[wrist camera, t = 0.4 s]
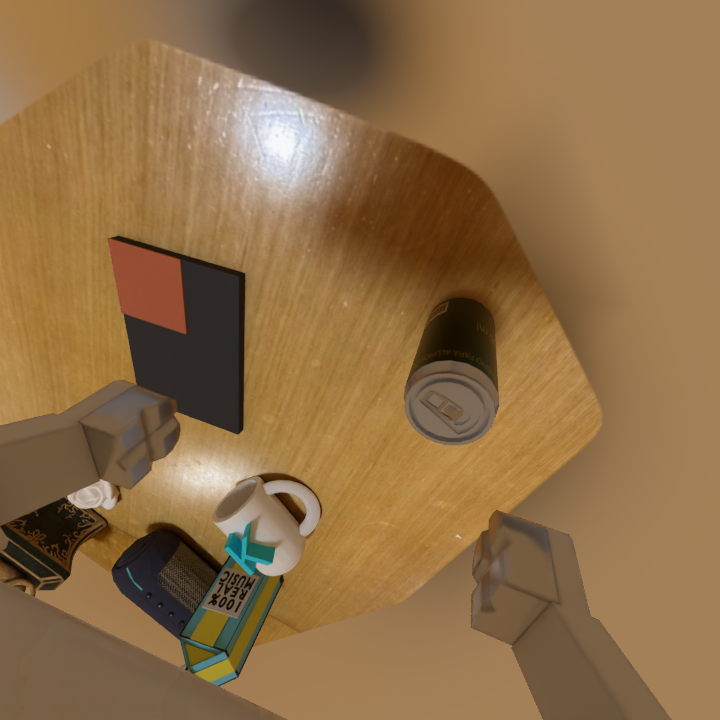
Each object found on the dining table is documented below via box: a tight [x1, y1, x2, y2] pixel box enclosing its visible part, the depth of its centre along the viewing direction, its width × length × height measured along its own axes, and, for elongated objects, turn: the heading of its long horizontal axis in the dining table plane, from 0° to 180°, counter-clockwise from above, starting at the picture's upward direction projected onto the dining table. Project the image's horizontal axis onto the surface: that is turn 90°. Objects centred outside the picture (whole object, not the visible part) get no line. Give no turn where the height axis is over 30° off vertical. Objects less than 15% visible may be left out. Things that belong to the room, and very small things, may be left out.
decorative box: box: [0, 496, 107, 597], centre depth 61 cm, size 20×10×20 cm, turn 46°
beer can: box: [404, 298, 499, 445], centre depth 25 cm, size 5×5×12 cm
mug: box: [212, 476, 321, 576], centre depth 46 cm, size 12×9×12 cm
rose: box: [67, 479, 120, 510], centre depth 60 cm, size 10×4×10 cm
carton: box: [179, 556, 284, 686], centre depth 51 cm, size 7×8×18 cm
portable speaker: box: [112, 530, 218, 640], centre depth 61 cm, size 25×10×10 cm, turn 39°
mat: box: [108, 236, 245, 434], centre depth 40 cm, size 20×14×1 cm
